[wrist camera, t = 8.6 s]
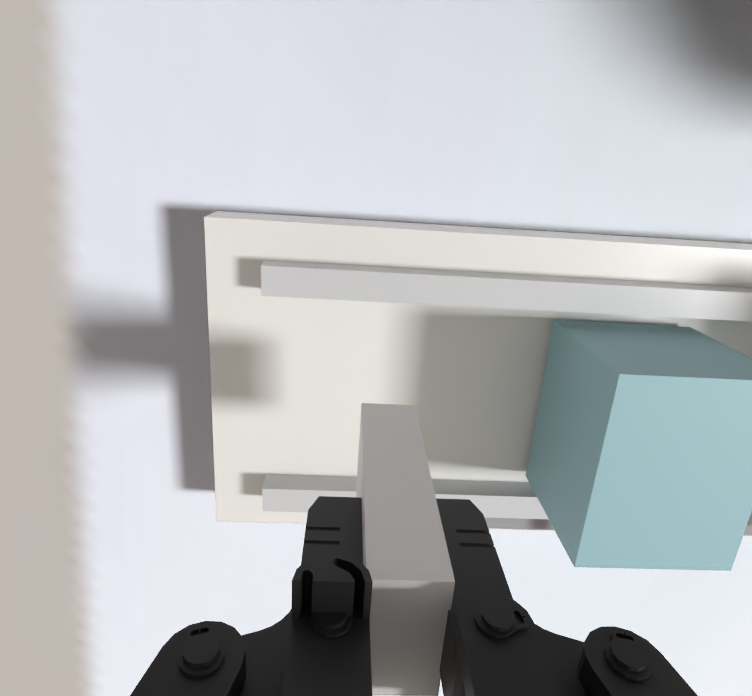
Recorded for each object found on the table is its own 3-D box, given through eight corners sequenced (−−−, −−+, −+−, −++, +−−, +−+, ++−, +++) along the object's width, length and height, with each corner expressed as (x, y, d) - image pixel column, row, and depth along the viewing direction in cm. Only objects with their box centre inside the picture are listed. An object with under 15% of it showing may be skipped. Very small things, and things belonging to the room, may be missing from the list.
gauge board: (218, 210, 20) (94, 263, 10) (962, 256, 21) (1441, 338, 12) (227, 492, 24) (144, 716, 14) (852, 511, 25) (1147, 721, 16)
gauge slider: (554, 319, 19) (619, 374, 14) (795, 332, 20) (934, 388, 15) (514, 532, 22) (558, 633, 17) (724, 537, 23) (822, 637, 18)
